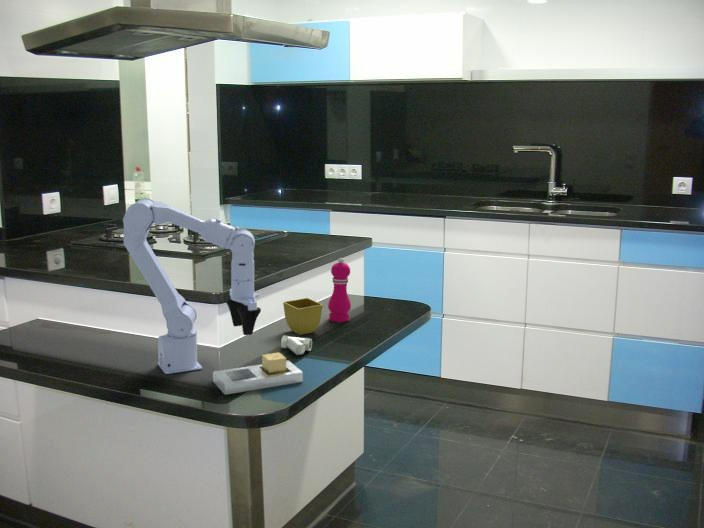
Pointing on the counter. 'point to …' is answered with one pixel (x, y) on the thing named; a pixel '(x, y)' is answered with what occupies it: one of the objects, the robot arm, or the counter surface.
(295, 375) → the white block holder tray
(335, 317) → the pepper mill
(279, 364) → the wooden block
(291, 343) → the pipe fitting
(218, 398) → the counter surface
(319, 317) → the flower pot
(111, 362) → the counter surface
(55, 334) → the counter surface
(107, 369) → the counter surface
